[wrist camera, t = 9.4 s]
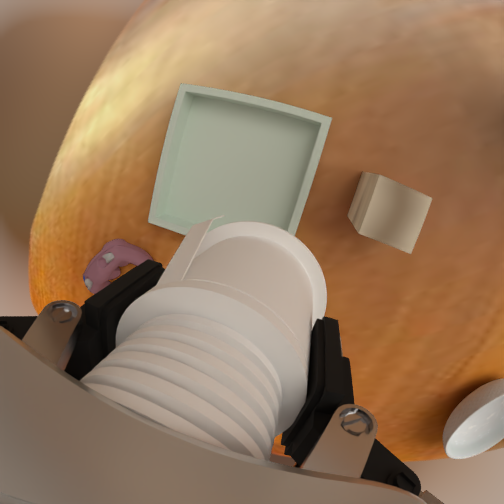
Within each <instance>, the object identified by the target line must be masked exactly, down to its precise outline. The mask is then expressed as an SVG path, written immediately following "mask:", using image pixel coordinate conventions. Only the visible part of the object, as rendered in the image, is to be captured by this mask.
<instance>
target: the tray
mask: <svg viewBox="0 0 504 504" xmlns="http://www.w3.org/2000/svg"><path fill="white" fill-rule="evenodd" d="M331 120H332V118H331V117H328V116H325V115H321V114H318V113H315V112H312V111H309V110H305V109H302V108H298V107H295V106H291V105H288V104H284V103H280V102H276V101H272V100H268V99H264V98H260V97H256V96H251V95H247V94H242V93H237V92H232V91H227V90H221V89H216V88H210V87H204V86H197V85H190V84H182V83H181V84H180V87H179V91H178V94H177V97H176V101H175V104H174V108H173V111H172V115H171V119H170V122H169V126H168V130H167V134H166V138H165V142H164V146H163V150H162V154H161V158H160V163H159V167H158V172H157V177H156V181H155V186H154V191H153V196H152V202H151V207H150V213H149V219H148V222H149V223H152V224H154V225H157V226H160V227H163V228H166V229H169V230H172V231H174V232H177V233H180V234H183V235H187V233H188V232H189V230H190V228H191V227H192V225H195V224H198V223H201V222H204V221H207V220H210V219H213V218H216V217H219V216H223V215H225V216H223V217H220V218H217V219H214V220H213V221H212V223H211V225H210V227H209V229H208V231H207V233H208V232H210V231H211V230H213V229H215V228H217V227H219V226H222V225H225V224H228V223H232V222H238V221H257V222H263V223H267V224H271V225H274V226H276V227H279V228H281V229H283V230H285V231H287V232H289V233H290V234H292V235H294V236H295V233H296V230H297V227H298V224H299V221H300V218H301V215H302V212H303V209H304V206H305V203H306V200H307V197H308V194H309V191H310V188H311V185H312V182H313V179H314V175H315V172H316V169H317V166H318V163H319V160H320V156H321V153H322V150H323V147H324V143H325V140H326V137H327V133H328V130H329V127H330V123H331ZM207 233H206V234H207Z"/></svg>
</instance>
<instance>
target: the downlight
mask: <svg viewBox="0 0 504 504" xmlns="http://www.w3.org/2000/svg"><path fill="white" fill-rule="evenodd" d="M223 216H225V215H223ZM223 216H219V217H216V218H213V219H210V220H207V221H204V222H201V223H198V224H195V225H192V227H191V228H190V230H189V232H188V233H187V235H186V236H185V238H184V240H183V241H182V243H181V244H180V246H179V248H178V249H177V251H176V253H175V254H174V256H173V258H172V259H171V261H170V263H169V264H168V266H167V268H166V269H165V271H164V273H163V274H162V276H161V278H160V279H159V281H158V283H157V285H156V286H155V287H153V288H152V289H150V290H149V291H148V292H146V293H145V294H143V295H142V296H141V297H139V298H138V299H136V300H135V301H134V302H133V303H132V304H130V306H129V307H128V308H127V309H126V310H125V312H124V313H123V315H122V317H121V319H120V321H119V324H118V327H117V331H116V348H115V349H114V350H113V351H112V352H111V353H110V354H109V355H108V356H107V357H106V358H105V359H103V360H102V361H101V362H100V363H99V364H98V365H96V366H95V367H94V369H93V370H92V371H91V372H89V373H88V374H87V375H85V376H84V377H83V378H82V379H81V380H80V382H82V383H83V384H85V385H86V386H88V387H90V388H91V389H93V390H95V391H97V392H98V393H100V394H102V395H104V396H105V397H107V398H109V399H111V400H113V401H114V402H116V403H118V404H120V405H122V406H124V407H126V408H128V409H130V410H131V411H133V412H135V413H137V414H139V415H141V416H144V417H146V418H148V419H150V420H152V421H154V422H156V423H158V424H161V425H163V426H165V427H167V428H170V429H172V430H174V431H177V432H180V433H183V434H185V435H188V436H190V437H193V438H195V439H198V440H201V441H204V442H206V443H209V444H212V445H215V446H218V447H221V448H224V449H227V450H230V451H233V452H237V453H240V454H243V455H247V456H251V457H254V458H258V459H262V460H266V461H269V460H270V455H271V450H272V446H273V443H274V438H275V436H277V435H279V434H281V433H282V432H284V431H285V430H287V429H288V428H289V427H290V426H291V425H292V424H293V422H294V421H295V419H296V417H297V416H298V414H299V412H300V410H301V409H302V407H303V405H304V403H305V401H306V395H307V385H308V373H309V361H310V348H311V333H312V329H313V326H314V324H315V322H316V320H317V318H318V319H321V320H322V318H323V317H324V314H325V310H326V303H327V290H326V283H325V278H324V275H323V272H322V270H321V267H320V265H319V263H318V262H317V260H316V258H315V257H314V255H313V254H312V252H311V251H310V250H309V249H308V248H307V247H306V246H305V245H304V244H303V243H302V242H301V241H300V240H299V239H298V238H296V237H295V236H294V235H292V234H290V233H289V232H287V231H285V230H283V229H281V228H279V227H276V226H274V225H271V224H267V223H263V222H257V221H238V222H232V223H228V224H225V225H222V226H219V227H217V228H215V229H213V230H211V231H210V232H208V233H207V231H208V229H209V227H210V225H211V223H212V221H213V220H214V219H217V218H220V217H223ZM206 233H207V234H206Z"/></svg>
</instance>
